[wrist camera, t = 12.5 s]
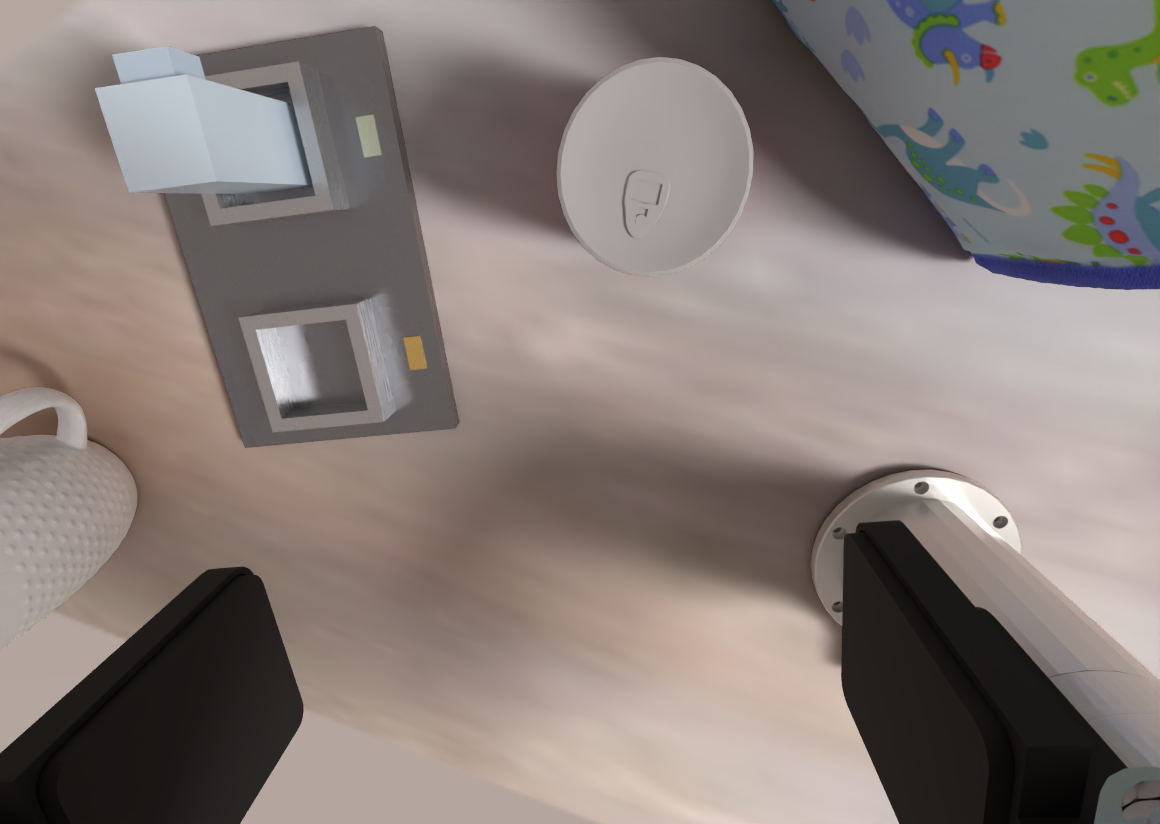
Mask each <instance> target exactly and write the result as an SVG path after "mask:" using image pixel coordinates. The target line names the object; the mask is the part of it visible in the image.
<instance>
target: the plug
mask: <svg viewBox="0 0 1160 824" xmlns="http://www.w3.org/2000/svg"><path fill="white" fill-rule="evenodd" d="M112 57H113V60H114V63H115V66H116V69H117V72H118V76H119V79H120V82H121V84H119V85H112V86H106V87H99V88H95V91H96V94H97V97H98V100H99V103H100V106H101V109H102V112H103V116H104V119H105V122H106V125H107V128H108V131H109V134H110V137H111V140H112V143H113V146H114V149H115V152H116V155H117V158H118V161H119V164H120V167H121V171H122V174H123V177H124V180H125V183H126V186H127V189H128V192H129V193H199V194H254V193H262V192H270V191H278V190H285V189H293V188H301V187H309V186H313V183H312V179H311V175H310V171H309V167H308V163H307V159H306V155H305V150H304V146H303V142H302V138H301V134H300V130H299V126H298V122H297V118H296V114H295V110H294V105H293V104H290V103H286V102H283V101H279V100H276V99H272V98H269V97H265V96H262V95H258V94H255V93H251V92H247V91H244V90H240V89H237V88H233V87H230V86H226V85H223V84H219V83H215V82H212V81H208V80H206V79H205V76H204V72H203V68H202V65H201V61H200V57H199V56H196V55H193V54H190V53H187V52H183V51H180V50H177V49H174V48H171V47H168V46H164V47H157V48H151V49H144V50H138V51H131V52H125V53H119V54H112Z"/></svg>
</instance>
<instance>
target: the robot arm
mask: <svg viewBox="0 0 1160 824" xmlns="http://www.w3.org/2000/svg"><path fill="white" fill-rule="evenodd" d="M836 528H837V529H836ZM1021 550H1022V542H1021V538H1020V534H1019V529H1018V526H1017V524H1016V522H1015V520H1014V518H1013V516H1012V514H1011V512H1010V511H1009V510H1008V509H1007V507H1006V506H1005V505H1004V504H1003V503H1002V502H1001V501H1000V500H999V498H997V497H996V496H995V495H994V494H992V493H991V492H990V491H989V490H987V489H986V488H985V487H983V486H982V485H980V484H978V483H976V482H975V481H973V480H971V479H969V478H967V477H964V476H961V475H958V474H954V473H951V472H945V471H938V470H910V471H905V472H900V473H895V474H890V475H887V476H885V477H882V478H879V479H877V480H874V481H871V482H870V483H868V484H866V485H864V486H863V487H861V488H859V489H857V490H856V491H854V492H853V493H851V494H850V495H849V496H848V497H846V498H845V499H844V500H843V501H842V502H840V503H839V504H838V505H837V506H836V508H835V509H834V510H833V511H832V512H831V513H830V514H829V516H828V517H827V518H826V520H825V521H824V523H823V525H822V527H821V528H820V530H819V532H818V534H817V537H816V540H815V543H814V546H813V549H812V557H811V572H812V580H813V583H814V586H815V589H816V591H817V594H818V596H819V598H820V600H821V602H822V603H823V605H824V607H825V609H826V610H827V611H828V613H829V614H830V615H831V616H832V618H833V619H834V620H835V621H836V622H837V623H839V624H840V625H841V626H842V670H841V678H842V688H843V692H844V696H845V700H846V703H847V705H848V708H849V710H850V712H851V715H852V717H853V719H854V721H855V724H856V726H857V728H858V730H859V733H860V735H861V737H862V740H863V742H864V744H865V746H866V749H867V751H868V753H869V756H870V758H871V760H872V762H873V765H874V767H875V769H876V771H877V774H878V776H879V778H880V781H881V783H882V785H883V787H884V790H885V792H886V794H887V797H888V799H889V801H890V803H891V806H892V808H893V810H894V812H895V815H896V817H897V819H898V822H899V824H1160V680H1159V679H1158V678H1157V677H1156V676H1155V675H1154V674H1153V673H1151V672H1150V671H1149V670H1148V669H1147V668H1146V667H1145V666H1144V665H1143V664H1141V663H1140V662H1139V661H1138V660H1137V659H1136V658H1135V657H1134V656H1133V655H1132V654H1130V653H1129V652H1128V651H1127V650H1126V649H1125V648H1124V647H1123V646H1122V645H1120V644H1119V643H1118V642H1117V641H1116V640H1115V639H1114V638H1113V637H1112V636H1110V635H1109V634H1108V633H1107V632H1106V631H1105V630H1104V629H1103V628H1102V627H1100V626H1099V625H1098V624H1097V623H1096V622H1095V621H1094V620H1093V619H1092V618H1090V617H1089V616H1088V615H1087V614H1086V613H1085V612H1084V611H1083V610H1082V609H1080V608H1079V607H1078V606H1077V605H1076V604H1075V603H1074V602H1073V601H1072V600H1070V599H1069V598H1068V597H1067V596H1066V595H1065V594H1064V593H1063V592H1062V591H1060V590H1059V589H1058V588H1057V587H1056V586H1055V585H1054V584H1053V583H1052V582H1050V581H1049V580H1048V579H1047V578H1046V577H1045V576H1044V575H1043V574H1042V573H1040V572H1039V571H1038V570H1037V569H1036V568H1035V567H1034V566H1033V565H1032V564H1030V563H1029V562H1028V561H1027V560H1026V559H1025V558H1024V557H1023V556H1022V555H1021ZM302 717H303V702H302V698H301V695H300V692H299V689H298V686H297V683H296V680H295V677H294V674H293V671H292V668H291V665H290V662H289V659H288V656H287V653H286V650H285V647H284V644H283V641H282V638H281V635H280V632H279V629H278V626H277V623H276V620H275V617H274V614H273V611H272V608H271V605H270V602H269V599H268V596H267V593H266V590H265V587H264V584H263V582H262V580H261V578H260V577H259V576H257V575H254V574H253V572H252V571H251V570H250V569H249V568H246V567H232V568H218V569H210V570H207V571H205V572H204V573H202V574H201V575H200V576H199V577H198V578H197V579H196V580H194V581H193V582H192V583H191V584H190V585H189V586H188V587H187V588H185V589H184V590H183V591H182V592H181V593H180V594H179V595H178V596H177V597H175V598H174V599H173V600H172V601H171V602H170V603H169V604H168V605H166V606H165V607H164V608H163V609H162V610H161V611H160V612H159V613H157V614H156V615H155V616H154V617H153V618H152V619H151V620H150V621H148V622H147V623H146V624H145V625H144V626H143V627H142V628H141V629H139V630H138V631H137V632H136V633H135V634H134V635H133V636H132V637H130V638H129V639H128V640H127V641H126V642H125V643H124V644H123V645H121V646H120V647H119V648H118V649H117V650H116V651H115V652H114V653H113V654H111V655H110V656H109V657H108V658H107V659H106V660H105V661H104V662H102V663H101V664H100V665H99V666H98V667H97V668H96V669H94V670H93V671H92V672H91V673H90V674H89V675H88V676H87V677H86V678H85V679H83V680H82V681H81V682H80V683H79V684H78V685H76V686H75V687H74V688H73V689H72V690H71V691H70V692H69V693H68V694H66V695H65V696H64V697H63V698H62V699H61V700H60V701H59V702H57V703H56V704H55V705H54V706H53V707H52V708H51V709H50V710H48V711H47V712H46V713H45V714H44V715H43V716H42V717H41V718H39V719H38V720H37V721H36V722H35V723H34V724H33V725H32V726H31V727H29V728H28V729H27V730H26V731H25V732H24V733H23V734H21V735H20V736H19V737H18V738H17V739H16V740H15V741H14V742H13V743H11V744H10V745H9V746H8V747H7V748H6V749H5V750H4V751H2V752H1V753H0V824H240V823H241V821H242V819H243V818H244V816H245V815H246V813H247V811H248V810H249V808H250V806H251V805H252V803H253V801H254V800H255V798H256V797H257V795H258V793H259V792H260V790H261V789H262V787H263V785H264V784H265V782H266V780H267V779H268V777H269V775H270V774H271V772H272V771H273V769H274V767H275V766H276V764H277V762H278V761H279V759H280V758H281V756H282V754H283V753H284V751H285V749H286V748H287V746H288V744H289V743H290V741H291V740H292V738H293V736H294V735H295V733H296V732H297V730H298V728H299V726H300V724H301V721H302Z"/></svg>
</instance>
